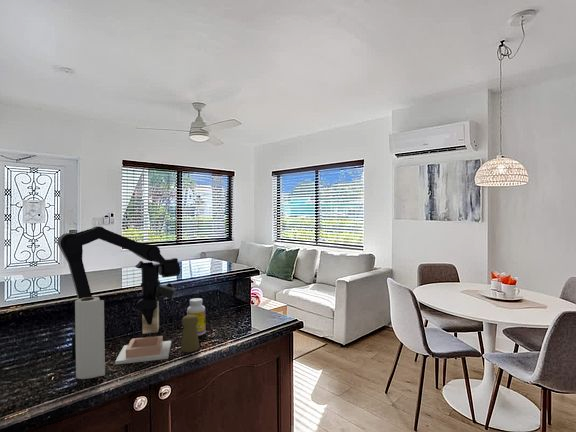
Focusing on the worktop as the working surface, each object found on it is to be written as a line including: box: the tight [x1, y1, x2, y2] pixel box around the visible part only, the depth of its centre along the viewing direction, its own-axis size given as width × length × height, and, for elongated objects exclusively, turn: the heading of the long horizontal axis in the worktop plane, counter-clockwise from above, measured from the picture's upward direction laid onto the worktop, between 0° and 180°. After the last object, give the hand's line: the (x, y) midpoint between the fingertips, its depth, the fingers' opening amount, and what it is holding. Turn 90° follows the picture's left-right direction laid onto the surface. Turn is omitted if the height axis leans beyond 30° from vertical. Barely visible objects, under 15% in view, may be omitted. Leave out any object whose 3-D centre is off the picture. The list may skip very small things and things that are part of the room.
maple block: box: [141, 301, 160, 334], centre depth 124 cm, size 5×5×10 cm
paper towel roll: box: [74, 296, 106, 380], centre depth 95 cm, size 7×6×21 cm
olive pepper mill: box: [180, 314, 200, 353], centre depth 114 cm, size 6×6×11 cm
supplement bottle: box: [186, 297, 207, 337], centre depth 128 cm, size 7×7×13 cm
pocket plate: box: [114, 335, 172, 365], centre depth 110 cm, size 15×13×4 cm
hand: (150, 322), depth 124 cm, fingers closed on maple block, 5 cm apart
